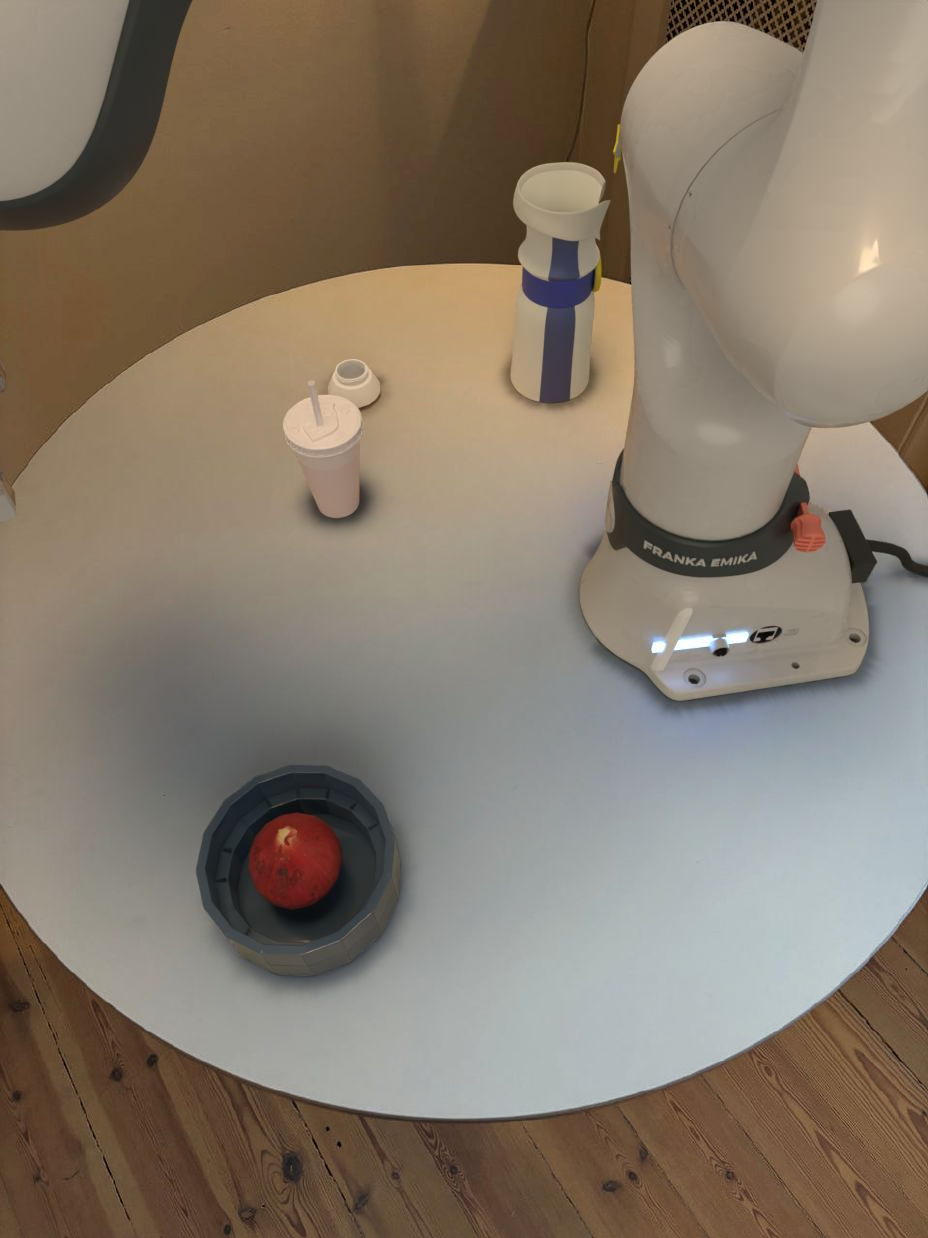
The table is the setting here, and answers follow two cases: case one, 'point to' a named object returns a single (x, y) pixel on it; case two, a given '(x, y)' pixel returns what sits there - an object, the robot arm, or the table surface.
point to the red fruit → (295, 860)
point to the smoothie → (327, 449)
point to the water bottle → (557, 277)
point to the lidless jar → (354, 382)
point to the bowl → (337, 918)
